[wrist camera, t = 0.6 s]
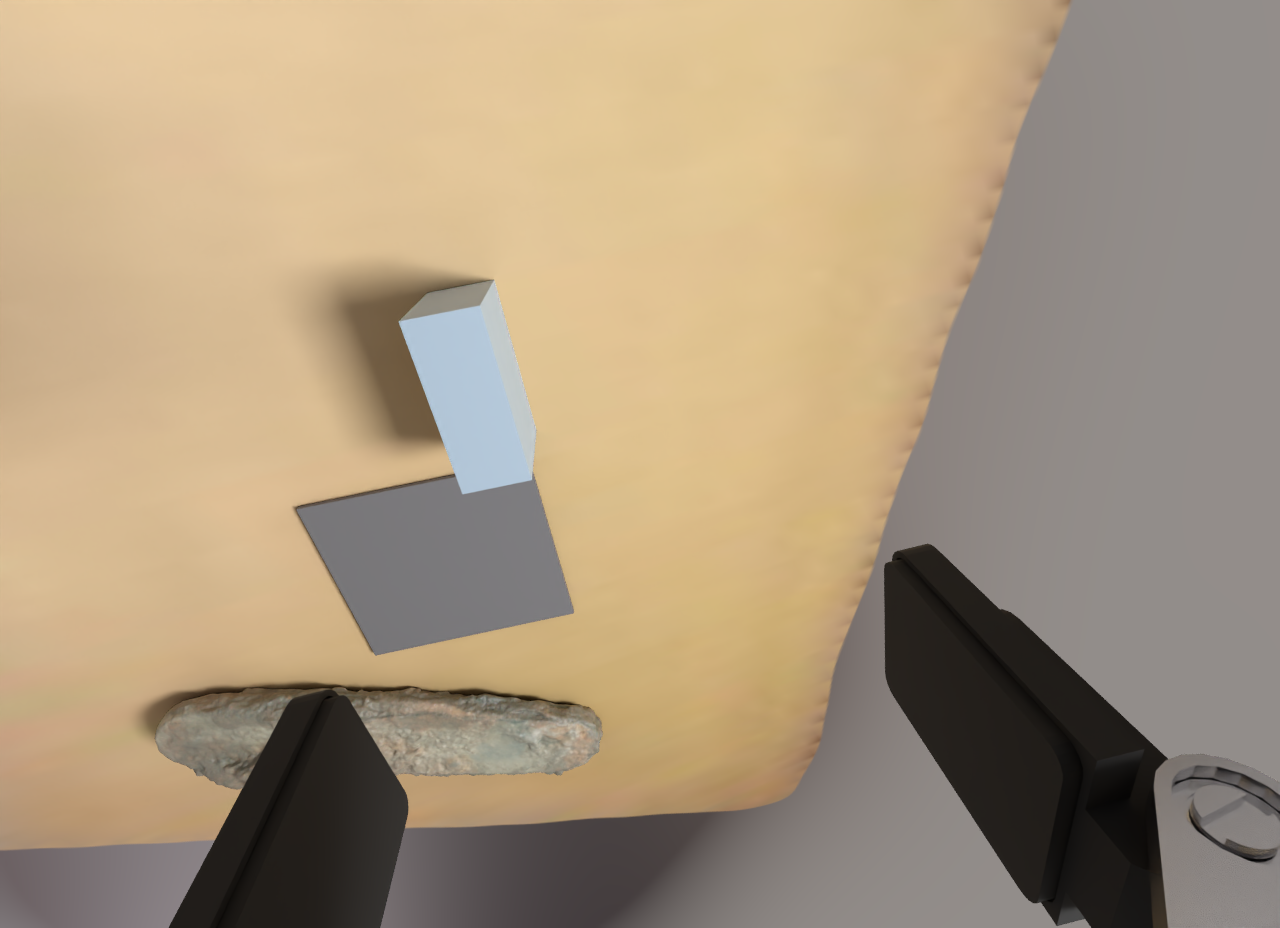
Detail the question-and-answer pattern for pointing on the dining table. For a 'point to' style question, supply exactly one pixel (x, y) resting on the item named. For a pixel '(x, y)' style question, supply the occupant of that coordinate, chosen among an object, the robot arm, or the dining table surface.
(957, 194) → the dining table surface
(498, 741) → the elongated rough stone
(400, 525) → the mat
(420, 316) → the pale blue upright box
